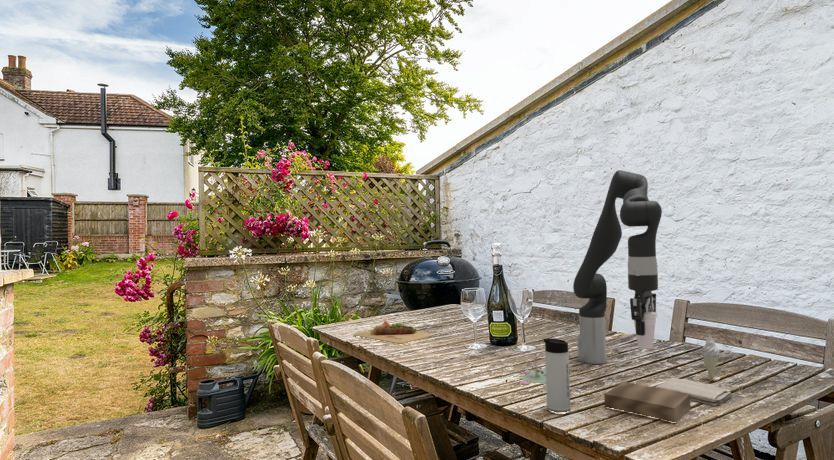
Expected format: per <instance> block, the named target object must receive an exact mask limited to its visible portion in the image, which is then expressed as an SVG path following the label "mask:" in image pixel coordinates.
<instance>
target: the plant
mask: <svg viewBox="0 0 834 460" xmlns="http://www.w3.org/2000/svg"><path fill="white" fill-rule="evenodd" d="M534 356H535V357H534V359H532V361H533V365H532V364H531V363H530V362H528V363H527V364H526V366H527V367H531V369H532V370H529V369H525V370H524V371H522V372H523V374H525V375H524V376H523V378H522V380H528V382H527V381H523V382H520V384H522V385H529V381H531V382H533V383H534V382H537V383H541V384H546V368H545V369H544V368H542V367H538V366H539V365H540V363H538V362H537V361H540V359H539V356H537V354H536V353H535V354H534Z"/></svg>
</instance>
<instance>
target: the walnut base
mask: <svg viewBox="0 0 834 460" xmlns="http://www.w3.org/2000/svg"><path fill="white" fill-rule="evenodd" d="M655 387H656V386H655ZM655 387H654V386H648V385H643V384H639V383H638V384H637V383H633V382H627V381H622V382H621V383H619V384H618V385H616V386H614V387H613V388H611V389H610V390H607V391H606V392H605V393H604V408H605V407H609V408H614V409H619V410H624V411H627V412H633V413H637V414H642V415H646V416H651V417H655V418H659V419H663V420H667V421H672V422H677V421H678V420H679V419H680V418H681V417H682V416H683V415H684V414H685V413H686V412H687V411H688V410H689V409H690V408H692V407H691V400H690V394H688V393H682V392H677V391H671V390H666V389H661V388H655ZM689 411H690V410H689ZM686 414H687V413H686ZM686 414H685V415H686ZM685 415H684V416H685ZM684 416H683V417H684ZM683 417H682V418H683ZM682 418H681V419H682ZM681 419H680V420H681ZM680 420H679V421H680ZM679 421H678V422H679ZM678 422H677V423H678Z"/></svg>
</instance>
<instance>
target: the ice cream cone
mask: <svg viewBox="0 0 834 460" xmlns="http://www.w3.org/2000/svg"><path fill="white" fill-rule="evenodd" d="M701 350H702V351H701V356H702V359H703V361H704V365H705V368H706V370H707V373H708V376H709V380H710V381H711V380H713V378H714V376H715V372H716V368H717V363H718V361H719V358H720V349H719V347H718V346H717V345H716V341H715V340H714V339H713V337H712V335H711V333H709V334H708V337H707V339H706V341H705V344H704V345H703V347H702V348H701Z"/></svg>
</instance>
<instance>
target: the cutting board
mask: <svg viewBox="0 0 834 460" xmlns="http://www.w3.org/2000/svg"><path fill="white" fill-rule="evenodd" d="M354 336H360V337H365V338H370V339H375V340H380V341H386V342H392V343H397V344H404V343H408V342H411V341H414V340H418V339H421V338H425V337H429V336H432V337H433V334H432V333H429V332H421V331H418V329H417V328H414V327H413V326H412V325H410V326H409V325H408V326H407V325H405V324H402V323H400V322H396V324H394V323H388V321H387V320H385V321H383V322H382V324H380V325H376V326H374V328H373V329H370V330H366V331H360V332H355V333H353V337H354ZM380 341H379V342H380ZM408 344H409V343H408ZM404 345H405V344H404Z"/></svg>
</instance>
